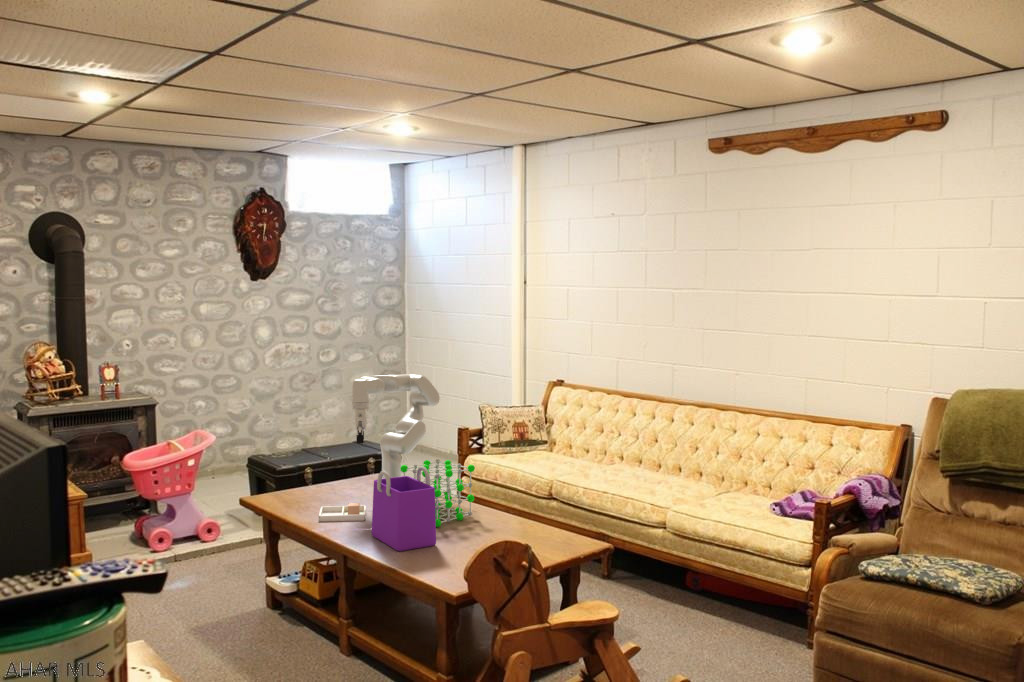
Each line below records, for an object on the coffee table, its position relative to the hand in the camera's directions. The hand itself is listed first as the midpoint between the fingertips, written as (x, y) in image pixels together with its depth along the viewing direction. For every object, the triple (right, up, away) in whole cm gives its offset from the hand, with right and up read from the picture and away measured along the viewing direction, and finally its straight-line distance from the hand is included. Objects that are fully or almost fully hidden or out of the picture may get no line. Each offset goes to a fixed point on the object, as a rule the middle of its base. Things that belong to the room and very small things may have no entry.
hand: (360, 441), depth 407 cm
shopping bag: (+27, -35, -53) cm, 69 cm away
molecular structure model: (+38, -33, -17) cm, 53 cm away
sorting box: (-4, -32, -20) cm, 38 cm away
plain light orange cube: (0, -31, -19) cm, 36 cm away
